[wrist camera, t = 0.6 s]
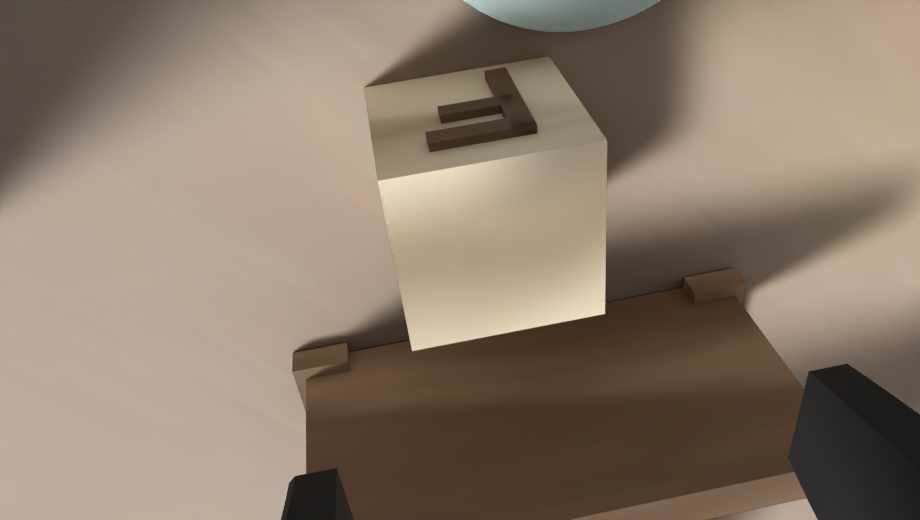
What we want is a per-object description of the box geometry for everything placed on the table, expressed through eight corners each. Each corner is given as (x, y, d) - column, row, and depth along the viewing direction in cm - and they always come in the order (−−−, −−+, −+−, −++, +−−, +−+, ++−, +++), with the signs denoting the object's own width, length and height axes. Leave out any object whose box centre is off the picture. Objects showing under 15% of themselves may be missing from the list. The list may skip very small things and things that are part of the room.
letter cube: (554, 209, 21) (604, 313, 17) (393, 239, 21) (412, 351, 17) (548, 46, 18) (607, 131, 15) (362, 78, 18) (376, 171, 14)
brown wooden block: (721, 360, 26) (837, 542, 20) (322, 440, 25) (327, 655, 19) (734, 267, 23) (870, 445, 18) (292, 353, 22) (289, 568, 17)
